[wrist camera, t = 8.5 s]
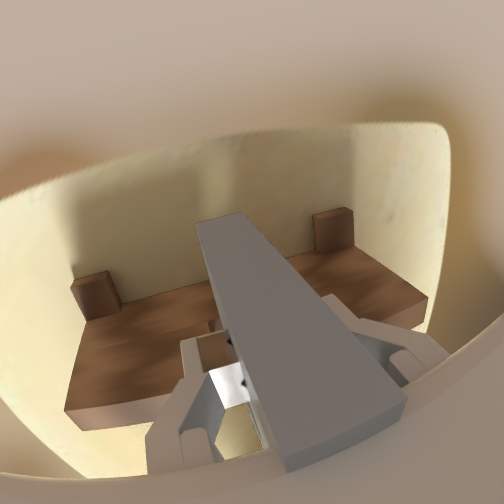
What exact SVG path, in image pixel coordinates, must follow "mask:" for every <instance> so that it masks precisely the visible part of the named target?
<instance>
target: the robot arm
mask: <svg viewBox="0 0 504 504" xmlns="http://www.w3.org/2000/svg"><path fill="white" fill-rule="evenodd" d="M321 298H322V300H323V301H324V302H325V303H326V304H327V305H328V306H329V307H330V309H331V310H332V311H333V312H334V313H335V314H336V315H337V316H338V317H339V319H340V320H341V321H342V322H343V323H344V324H345V325H346V326H347V328H348V329H349V330H350V331H351V332H352V333H353V334H354V335H355V337H356V338H357V339H358V340H359V341H360V342H361V343H362V345H363V346H364V347H365V348H366V349H367V350H368V351H369V353H370V354H371V355H372V356H373V357H374V358H375V359H376V361H377V362H378V363H379V364H380V365H381V366H382V367H383V369H384V370H385V371H386V372H387V373H388V374H389V375H390V377H391V378H392V379H393V380H394V381H395V382H396V384H397V385H398V386H399V387H400V388H401V389H402V391H403V392H404V393H405V394H406V395H407V396H408V400H407V403H406V405H405V408H404V410H403V413H402V415H401V418H400V420H399V421H398V422H396V423H395V424H393V425H391V426H389V427H388V428H386V429H384V430H382V431H381V432H379V433H377V434H375V435H373V436H371V437H370V438H368V439H366V440H364V441H362V442H360V443H358V444H356V445H354V446H352V447H350V448H348V449H345V450H343V451H341V452H339V453H337V454H335V455H332V456H330V457H328V458H325V459H323V460H321V461H318V462H316V463H313V464H311V465H308V466H306V467H303V468H300V469H298V470H295V471H292V472H289V473H286V470H285V468H284V466H283V464H282V462H281V459H280V457H279V455H278V453H277V451H276V448H275V447H274V446H273V447H270V448H267V449H263V450H260V451H257V452H254V453H250V454H247V455H243V456H240V457H236V458H232V459H229V460H224V458H223V457H222V455H221V454H220V452H219V450H218V449H217V447H216V446H215V444H214V442H215V439H216V436H217V433H218V430H219V427H220V425H221V422H222V419H223V416H224V413H225V409H227V408H230V407H233V406H236V405H239V404H242V403H245V402H248V401H251V400H250V396H249V393H248V390H247V387H246V384H245V381H244V377H243V373H242V370H241V366H240V363H239V360H238V357H237V355H236V352H235V349H234V346H233V345H232V342H231V338H230V335H229V332H228V330H227V329H224V330H220V331H216V332H212V333H208V334H205V335H201V336H197V337H193V338H190V339H186V340H182V341H181V342H180V348H181V355H182V362H183V369H184V376H185V378H182V379H180V380H179V382H178V383H177V385H176V387H175V388H174V390H173V392H172V393H171V395H170V397H169V398H168V400H167V402H166V403H165V405H164V406H163V408H162V410H161V411H160V413H159V415H158V416H157V418H156V420H155V421H154V423H153V424H152V426H151V428H150V429H149V431H148V433H147V434H146V436H145V446H146V460H147V471H148V475H140V476H130V477H117V478H95V479H69V478H47V477H36V476H35V477H34V476H25V475H18V474H11V473H5V472H0V504H504V313H503V314H502V315H501V316H500V317H499V318H497V319H496V320H495V321H494V322H493V323H492V324H491V325H490V326H488V327H487V328H486V329H485V330H483V331H482V332H481V333H480V334H479V335H477V336H476V337H475V338H474V339H472V340H471V341H470V342H469V343H467V344H466V345H465V346H463V347H462V348H461V349H459V350H458V351H457V352H456V353H454V354H453V355H450V354H448V353H447V352H446V351H445V350H444V349H443V348H442V347H441V346H440V345H439V344H437V343H436V342H435V341H434V340H433V339H432V338H431V337H430V336H429V335H427V334H425V333H420V332H416V331H412V330H408V329H404V328H400V327H396V326H392V325H388V324H384V323H381V322H377V321H373V320H369V319H365V318H361V319H358V318H357V317H356V316H355V315H354V314H353V313H352V312H351V311H350V310H349V309H348V308H347V307H346V306H345V305H344V304H343V303H342V302H341V301H340V300H339V299H338V298H337V297H336V296H335V295H334V294H329V295H327V296H324V297H321Z"/></svg>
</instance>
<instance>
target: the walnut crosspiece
mask: <svg viewBox="0 0 504 504" xmlns="http://www.w3.org/2000/svg"><path fill="white" fill-rule="evenodd" d="M313 222H314V233H315V245H316V250H313V251H310V252H306V253H303V254H299V255H296V256H293V257H289V258H286V260H287V261H288V262H289V263H290V264H291V265H292V267H293V268H294V269H295V270H296V271H297V272H298V273H299V274H300V275H301V276H302V277H303V279H304V280H305V281H306V282H307V283H308V284H309V285H310V286H311V287H312V289H313V290H314V291H315V292H316V293H317V294H318V295H319V296H320V297H324V296H327V295H329V294H334V295H335V296H336V297H337V298H338V299H339V300H340V301H341V302H342V303H343V304H344V305H345V306H346V307H347V308H348V309H349V310H350V311H351V312H352V313H353V314H354V315H355V316H356V317H357V318H358V319H361V318H365V319H369V320H373V321H377V322H381V323H384V324H388V325H392V326H396V327H400V328H404V329H408V330H411V329H412V328H414V327H416V326H418V325H420V324H421V323H423V322H424V317H425V313H426V308H427V303H428V297H427V296H426V295H424V294H423V293H422V292H420V291H419V290H418V289H416V288H415V287H413V286H412V285H411V284H409V283H408V282H407V281H405V280H404V279H402V278H401V277H399V276H398V275H397V274H395V273H394V272H392V271H391V270H389V269H388V268H387V267H385V266H384V265H382V264H381V263H379V262H378V261H376V260H375V259H373V258H372V257H371V256H369V255H368V254H366V253H365V252H363V251H362V250H360V249H359V248H357V247H356V246H354V220H353V211H352V210H350V209H348V208H346V207H343V208H339V209H335V210H331V211H327V212H323V213H319V214H315V215H313ZM70 289H71V291H72V293H73V295H74V297H75V299H76V301H77V303H78V305H79V307H80V309H81V311H82V313H83V315H84V317H85V319H86V321H87V322H86V325H85V328H84V332H83V335H82V338H81V342H80V345H79V349H78V352H77V356H76V360H75V364H74V368H73V372H72V376H71V380H70V384H69V389H68V393H67V398H66V403H65V408H64V412H65V413H66V414H67V415H68V416H69V417H70V419H71V420H72V421H73V422H74V423H75V424H76V425H77V426H78V427H79V428H80V429H81V430H82V431H89V430H99V429H107V428H115V427H122V426H129V425H135V424H141V423H147V422H152V421H155V420H156V418H157V416H158V415H159V413H160V411H161V410H162V408H163V406H164V405H165V403H166V402H167V400H168V398H169V397H170V395H171V393H172V392H173V390H174V388H175V387H176V385H177V383H178V382H179V380H180V379H182V378H185V376H184V369H183V362H182V355H181V348H180V342H181V341H182V340H186V339H190V338H193V337H197V336H201V335H205V334H208V333H212V332H216V331H220V330H224V329H223V326H222V322H221V319H220V315H219V312H218V308H217V305H216V301H215V298H214V294H213V291H212V287H211V283H210V280H209V281H205V282H202V283H198V284H194V285H191V286H187V287H184V288H180V289H176V290H173V291H169V292H165V293H162V294H158V295H154V296H151V297H147V298H143V299H140V300H136V301H132V302H128V303H125V304H122V303H121V301H120V298H119V296H118V294H117V291H116V289H115V287H114V284H113V282H112V279H111V277H110V274H109V272H108V271H104V272H101V273H97V274H94V275H91V276H87V277H84V278H80V279H77V280H74V282H73V283H72V285H71V287H70Z"/></svg>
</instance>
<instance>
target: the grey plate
mask: <svg viewBox="0 0 504 504" xmlns="http://www.w3.org/2000/svg"><path fill="white" fill-rule="evenodd" d="M195 226H196V230H197V234H198V238H199V242H200V246H201V249H202V253H203V257H204V261H205V265H206V268H207V272H208V276H209V280H210V283H211V287H212V291H213V294H214V298H215V301H216V305H217V308H218V312H219V315H220V319H221V322H222V326H223V329H227V330H228V332H229V335H230V338H231V342H232V345H233V346H234V349H235V352H236V355H237V357H238V360H239V363H240V366H241V370H242V373H243V377H244V381H245V384H246V387H247V390H248V393H249V396H250V400H251V401H248V402H246V403H247V406H248V409H249V412H250V415H251V418H252V420H253V423H254V426H255V429H256V432H257V435H258V437H259V440H260V442H261V445H262V448H263V449H267V448H270V447H273V446H274V447H275V448H276V451H277V453H278V455H279V457H280V459H281V462H282V464H283V466H284V468H285V470H286V473H289V472H292V471H295V470H298V469H300V468H303V467H306V466H308V465H311V464H313V463H316V462H318V461H321V460H323V459H325V458H328V457H330V456H332V455H335V454H337V453H339V452H341V451H343V450H345V449H348V448H350V447H352V446H354V445H356V444H358V443H360V442H362V441H364V440H366V439H368V438H370V437H371V436H373V435H375V434H377V433H379V432H381V431H382V430H384V429H386V428H388V427H389V426H391V425H393V424H395V423H396V422H398V421H399V420H400V418H401V415H402V413H403V410H404V408H405V405H406V403H407V400H408V396H407V395H406V394H405V393H404V392H403V391H402V389H401V388H400V387H399V386H398V385H397V384H396V382H395V381H394V380H393V379H392V378H391V377H390V375H389V374H388V373H387V372H386V371H385V370H384V369H383V367H382V366H381V365H380V364H379V363H378V362H377V361H376V359H375V358H374V357H373V356H372V355H371V354H370V353H369V351H368V350H367V349H366V348H365V347H364V346H363V345H362V343H361V342H360V341H359V340H358V339H357V338H356V337H355V335H354V334H353V333H352V332H351V331H350V330H349V329H348V328H347V326H346V325H345V324H344V323H343V322H342V321H341V320H340V319H339V317H338V316H337V315H336V314H335V313H334V312H333V311H332V310H331V309H330V307H329V306H328V305H327V304H326V303H325V302H324V301H323V300H322V298H321V297H320V296H319V295H318V294H317V293H316V292H315V291H314V290H313V289H312V287H311V286H310V285H309V284H308V283H307V282H306V281H305V280H304V279H303V277H302V276H301V275H300V274H299V273H298V272H297V271H296V270H295V269H294V268H293V267H292V265H291V264H290V263H289V262H288V261H287V260H286V259H285V258H284V257H283V256H282V255H281V253H280V252H279V251H278V250H277V249H276V248H275V247H274V246H273V245H272V244H271V243H270V241H269V240H268V239H267V238H266V237H265V236H264V235H263V234H262V233H261V232H260V231H259V230H258V229H257V227H256V226H255V225H254V224H253V223H252V222H251V221H250V220H249V219H248V218H247V217H246V216H245V215H244V214H243V212H239V213H235V214H231V215H227V216H223V217H219V218H215V219H211V220H207V221H203V222H200V223H196V224H195Z"/></svg>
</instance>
